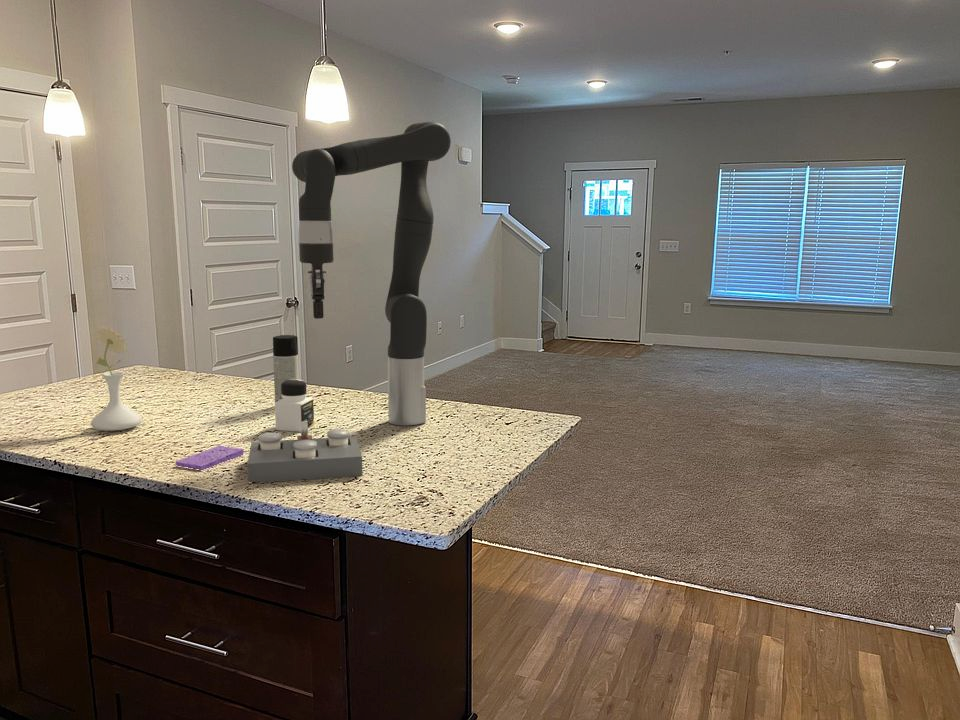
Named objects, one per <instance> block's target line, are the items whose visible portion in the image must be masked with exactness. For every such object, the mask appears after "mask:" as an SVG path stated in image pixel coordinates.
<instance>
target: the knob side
mask: <svg viewBox="0 0 960 720" xmlns="http://www.w3.org/2000/svg"><path fill="white" fill-rule="evenodd" d="M316 447H317V442H316V441H314V440H300V441H296V442H294V443H293V448H294V449H295V458H310V457H316V451H315V448H316Z"/></svg>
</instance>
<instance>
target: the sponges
mask: <svg viewBox="0 0 960 720" xmlns="http://www.w3.org/2000/svg"><path fill="white" fill-rule="evenodd" d="M243 454H244V448H239V447H231V446H225V445H216V446H214V447H211V448H209V449H207V450H203V451H200V452H198V453H194V454H192V455H190V456H186V457H185V458H181V459H178V460H176V461H175V466H177V467H178V466H182V467H188V468H193V469H199V470H203V469H206V468H209V467H211V468H213V467H212V466H214V465H216V466H218V465H217V464H219V463H222V462H224V463H226V462H225V461H227V460H229V461H231V460H230V459H232V460H234V459H233V458H235V459H237V458H239V457H238V456H240V457H242V456H244V455H243ZM241 455H242V456H241ZM236 457H237V458H236ZM227 462H228V461H227ZM222 464H223V463H222ZM219 465H220V464H219ZM214 467H215V466H214ZM209 469H210V468H209ZM206 470H207V469H206Z"/></svg>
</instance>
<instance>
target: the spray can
mask: <svg viewBox="0 0 960 720" xmlns="http://www.w3.org/2000/svg"><path fill="white" fill-rule="evenodd" d="M298 345H299V343H298V336H297V335H293V334H292V335H291V334H281V335H275V336H273V337H272V347H273V348H272V353H273V354H272V358H273V361H272V362H273V378H274V379H273V381H274V382H273V384H274V403H275V402H277V401H279V400H281V399H283V398H282V393H281V384H282V382H284V381H286V380H293V379H297V380H300V374H299V373H300V372H299V348H298Z"/></svg>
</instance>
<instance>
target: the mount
mask: <svg viewBox="0 0 960 720" xmlns="http://www.w3.org/2000/svg"><path fill="white" fill-rule="evenodd" d="M312 440H314V441H316V442H317V447H316V448H315V451H316V457H310V458H295V449H294V448H293V443H294V442H296V441H297V439H287V440H286V439H283V440H282V439H281V440H280V448H281V449H275V450H261V446H260V441H252V442H251V443H250V449H249V454H248V459H247V464H246V465H247V483H248V482H263V483H273V482H272V481H277V482H288V481H287V480H291V481H300V480H301V481H302V480H303V479H305V480H316V478H319V479H333V478H334V479H335V478H344V477H345V478H347V477H360V476H363V455H362V451H361V448H360V446H359V442H358V438H357V436H356V435H354V436H353V435H352V436H350V435H349V436H348V445H342V446H329V437H319V438H318V437H317V438H312ZM270 481H271V482H270Z"/></svg>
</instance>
